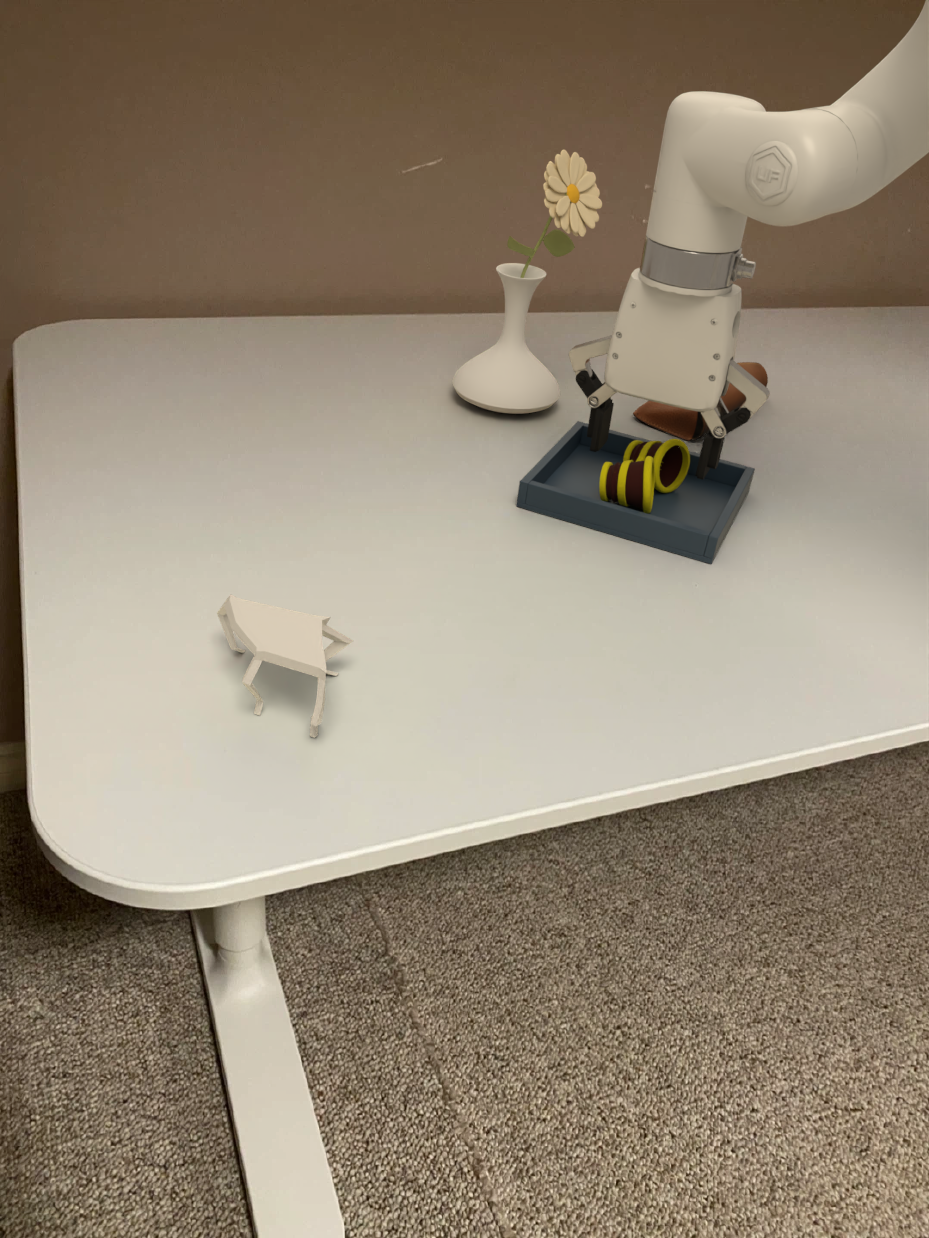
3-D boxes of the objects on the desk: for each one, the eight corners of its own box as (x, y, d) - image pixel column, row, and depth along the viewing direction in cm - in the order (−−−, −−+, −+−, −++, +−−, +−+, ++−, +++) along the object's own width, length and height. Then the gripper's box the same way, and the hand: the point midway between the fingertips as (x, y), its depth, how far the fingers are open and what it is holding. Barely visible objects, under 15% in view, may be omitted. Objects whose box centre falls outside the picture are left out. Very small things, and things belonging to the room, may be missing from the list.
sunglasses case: (696, 371, 126) (735, 331, 121) (737, 416, 126) (778, 377, 121) (627, 415, 113) (668, 372, 109) (673, 465, 113) (715, 424, 108)
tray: (748, 492, 102) (755, 468, 101) (711, 564, 90) (718, 538, 89) (573, 444, 107) (577, 420, 106) (515, 506, 95) (519, 481, 94)
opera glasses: (637, 477, 103) (637, 426, 101) (690, 484, 100) (692, 433, 98) (593, 514, 96) (592, 460, 93) (648, 523, 93) (649, 468, 91)
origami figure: (388, 686, 72) (392, 625, 69) (311, 754, 66) (313, 689, 63) (246, 622, 76) (245, 563, 74) (162, 679, 70) (158, 617, 67)
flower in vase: (478, 428, 108) (509, 163, 94) (433, 384, 116) (456, 134, 102) (590, 418, 113) (636, 165, 99) (540, 376, 121) (576, 137, 107)
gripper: (804, 275, 87) (754, 468, 96) (600, 235, 92) (571, 423, 101) (788, 297, 81) (737, 501, 90) (571, 254, 86) (544, 451, 96)
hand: (649, 459), depth 96 cm, fingers open, 9 cm apart
